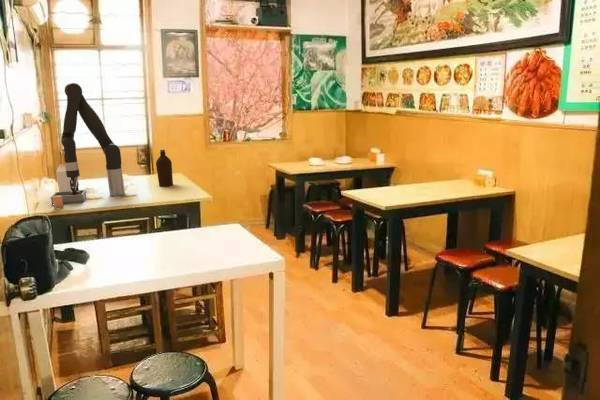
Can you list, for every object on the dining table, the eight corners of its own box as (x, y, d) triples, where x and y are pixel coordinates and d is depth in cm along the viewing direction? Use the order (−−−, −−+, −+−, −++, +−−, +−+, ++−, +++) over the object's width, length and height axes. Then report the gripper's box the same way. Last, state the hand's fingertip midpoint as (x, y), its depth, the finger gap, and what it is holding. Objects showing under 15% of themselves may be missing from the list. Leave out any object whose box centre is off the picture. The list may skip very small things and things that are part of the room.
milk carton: (68, 193, 330) (64, 165, 326) (59, 193, 332) (54, 165, 327) (75, 191, 337) (71, 163, 332) (66, 190, 338) (62, 163, 334)
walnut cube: (81, 197, 312) (80, 189, 311) (80, 199, 308) (79, 191, 306) (73, 198, 311) (71, 190, 310) (71, 200, 306) (70, 192, 305)
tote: (87, 197, 317) (86, 189, 316) (83, 202, 304) (82, 194, 303) (56, 199, 313) (55, 192, 312) (52, 205, 300) (50, 197, 299)
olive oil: (162, 187, 337) (158, 151, 331) (155, 185, 345) (151, 150, 339) (176, 185, 344) (173, 149, 337) (169, 183, 352) (166, 148, 345)
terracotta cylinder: (64, 206, 296) (62, 195, 294) (62, 208, 291) (60, 197, 289) (55, 207, 294) (53, 195, 293) (53, 209, 290) (51, 197, 288)
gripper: (76, 170, 299) (80, 196, 303) (80, 166, 312) (84, 191, 316) (63, 171, 297) (67, 197, 301) (67, 167, 310) (71, 192, 314)
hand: (76, 194), depth 309 cm, fingers open, 8 cm apart
